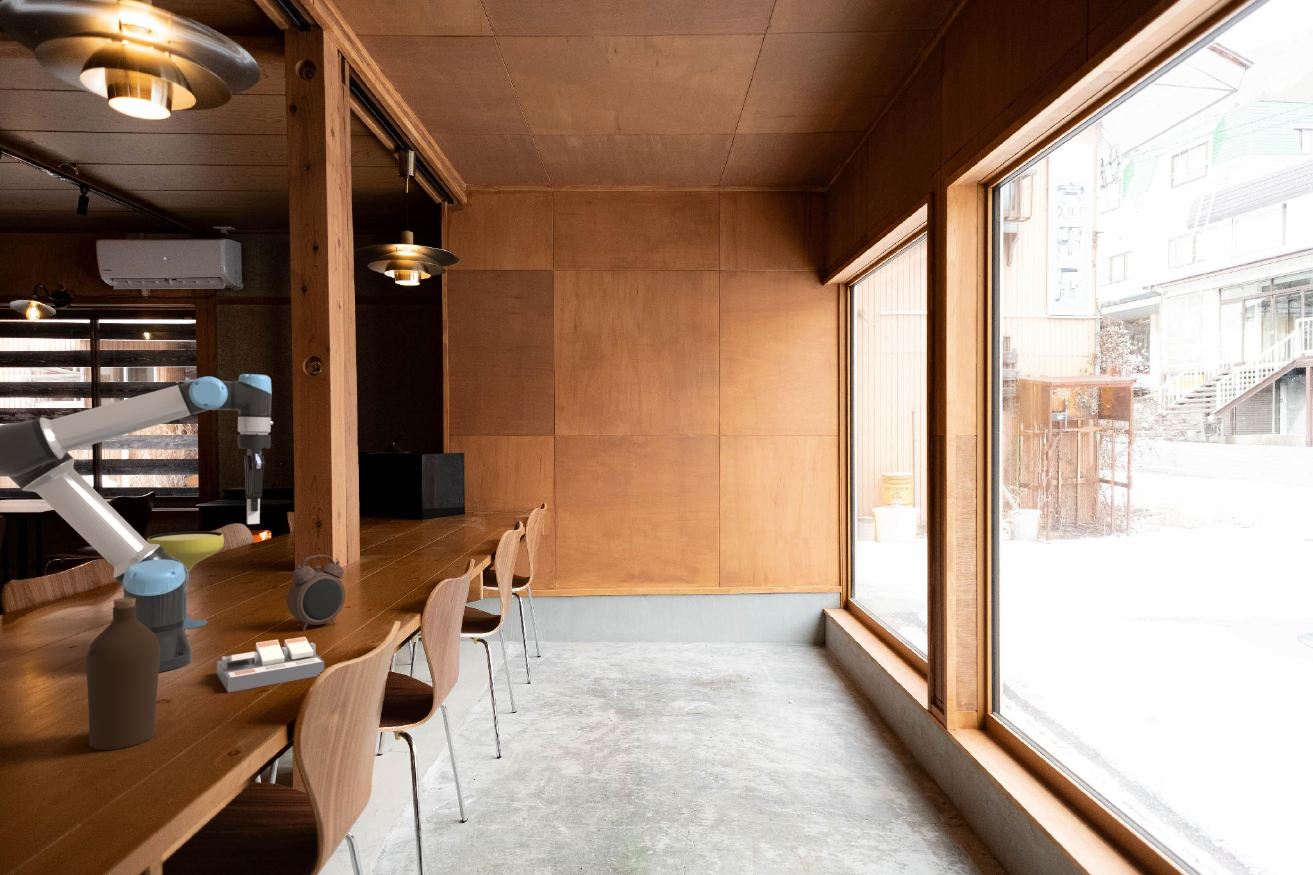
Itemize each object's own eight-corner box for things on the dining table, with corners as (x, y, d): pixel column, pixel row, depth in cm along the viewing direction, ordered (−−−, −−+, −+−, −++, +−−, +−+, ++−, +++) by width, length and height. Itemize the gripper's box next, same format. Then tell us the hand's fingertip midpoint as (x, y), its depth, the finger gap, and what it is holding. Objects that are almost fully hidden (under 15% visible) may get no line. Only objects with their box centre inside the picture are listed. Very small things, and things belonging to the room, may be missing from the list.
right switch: (292, 659, 164) (292, 654, 164) (284, 644, 170) (284, 639, 170) (313, 655, 167) (313, 650, 167) (304, 641, 173) (305, 636, 173)
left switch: (231, 660, 157) (231, 654, 157) (225, 662, 162) (225, 656, 163) (254, 657, 159) (254, 651, 160) (248, 658, 165) (247, 653, 165)
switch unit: (227, 692, 153) (228, 667, 153) (216, 674, 163) (217, 651, 163) (324, 674, 165) (324, 651, 165) (307, 659, 175) (308, 637, 175)
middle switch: (262, 665, 161) (262, 660, 160) (255, 647, 166) (256, 642, 166) (284, 662, 164) (284, 657, 163) (277, 644, 169) (277, 639, 169)
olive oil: (136, 751, 124) (138, 606, 124) (69, 753, 123) (71, 606, 123) (171, 726, 135) (173, 592, 135) (110, 727, 134) (112, 592, 134)
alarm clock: (297, 634, 196) (299, 560, 196) (284, 629, 200) (286, 557, 200) (348, 623, 208) (349, 553, 207) (335, 619, 212) (336, 550, 212)
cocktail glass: (237, 620, 209) (239, 533, 209) (181, 636, 191) (182, 542, 191) (187, 614, 214) (189, 529, 214) (128, 630, 196) (129, 538, 196)
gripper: (276, 434, 188) (274, 525, 188) (265, 433, 198) (263, 520, 198) (243, 433, 183) (241, 527, 183) (233, 433, 193) (232, 521, 193)
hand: (253, 523), depth 191 cm, fingers closed
